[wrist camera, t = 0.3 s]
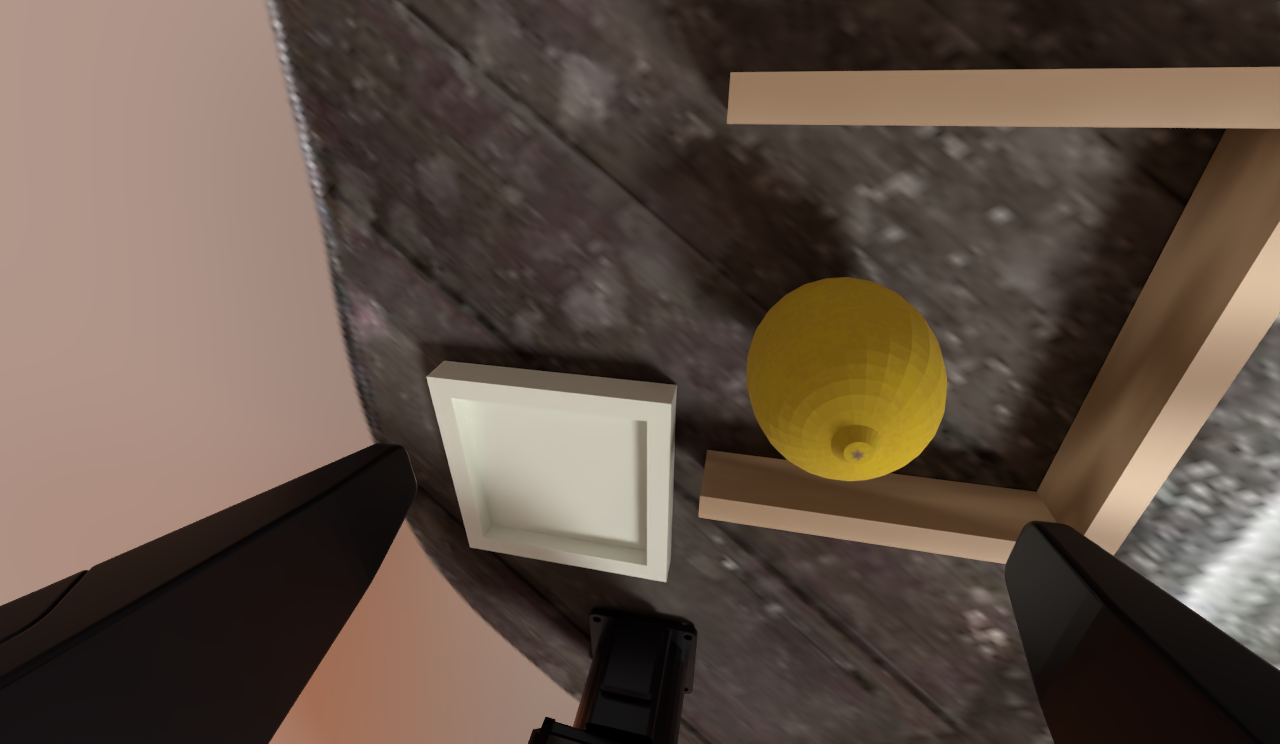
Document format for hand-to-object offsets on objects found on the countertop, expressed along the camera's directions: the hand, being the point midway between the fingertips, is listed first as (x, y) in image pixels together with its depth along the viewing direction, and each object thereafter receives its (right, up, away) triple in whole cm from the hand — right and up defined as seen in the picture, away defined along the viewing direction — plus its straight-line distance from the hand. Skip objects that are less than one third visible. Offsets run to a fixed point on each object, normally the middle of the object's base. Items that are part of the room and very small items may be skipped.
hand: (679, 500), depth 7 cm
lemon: (+6, +4, +12) cm, 14 cm away
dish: (-4, -3, +18) cm, 19 cm away
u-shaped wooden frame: (+9, +4, +11) cm, 15 cm away
